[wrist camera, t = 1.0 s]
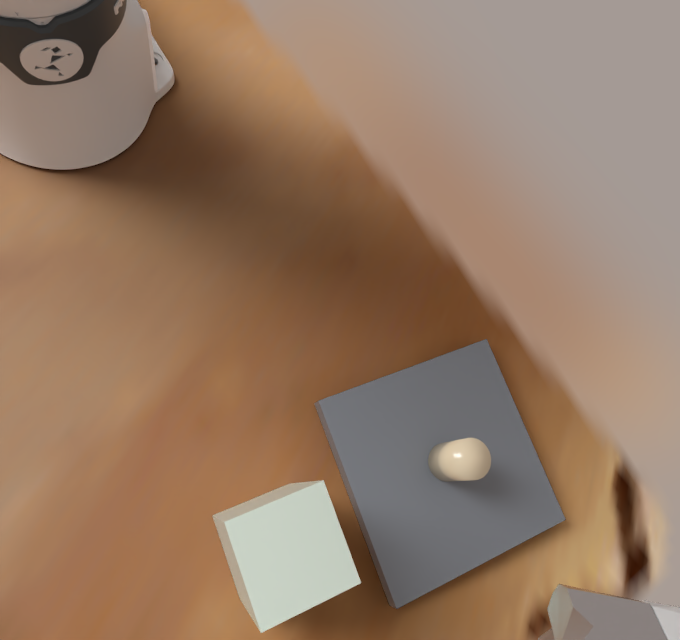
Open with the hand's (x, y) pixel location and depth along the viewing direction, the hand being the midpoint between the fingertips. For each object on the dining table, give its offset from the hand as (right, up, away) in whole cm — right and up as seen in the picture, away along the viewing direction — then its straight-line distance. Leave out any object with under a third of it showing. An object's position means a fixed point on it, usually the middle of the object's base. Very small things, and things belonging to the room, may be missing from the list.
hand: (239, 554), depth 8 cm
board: (+9, -9, +40) cm, 42 cm away
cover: (-4, -13, +35) cm, 37 cm away
